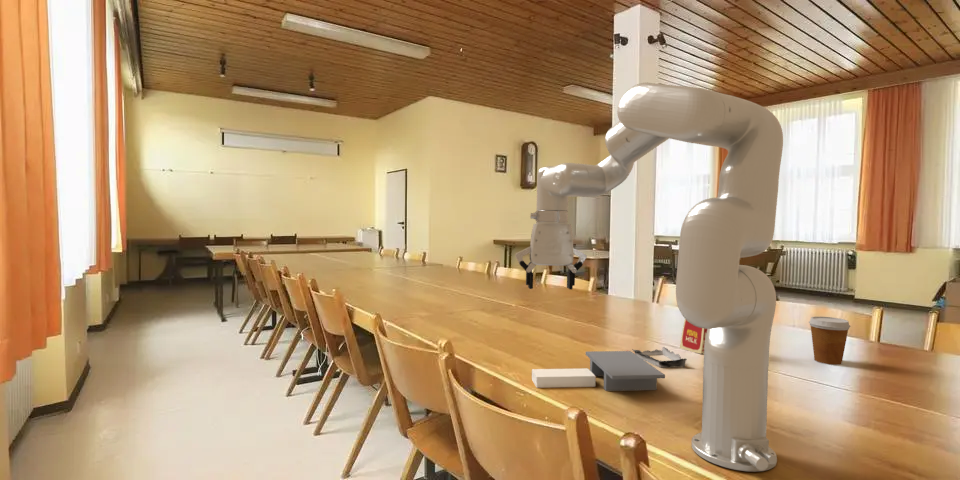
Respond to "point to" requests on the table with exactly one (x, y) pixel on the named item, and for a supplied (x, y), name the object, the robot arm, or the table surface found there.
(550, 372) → the white rectangular block
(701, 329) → the milk carton
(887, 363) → the table surface
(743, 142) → the robot arm
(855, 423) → the table surface
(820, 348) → the disposable coffee cup
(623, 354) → the grey flat-topped block
